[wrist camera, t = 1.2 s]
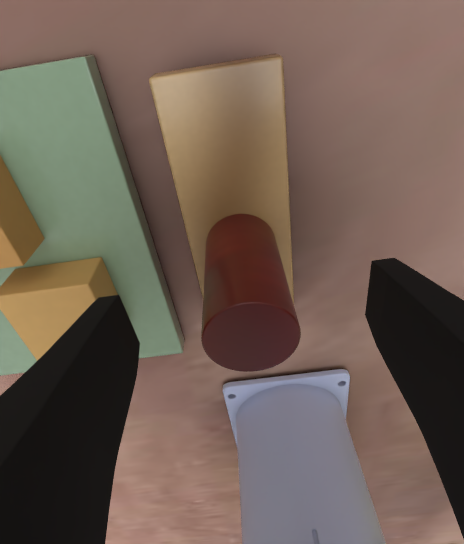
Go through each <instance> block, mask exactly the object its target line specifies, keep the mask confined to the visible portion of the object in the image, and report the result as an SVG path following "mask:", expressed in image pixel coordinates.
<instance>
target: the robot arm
mask: <svg viewBox="0 0 464 544" xmlns="http://www.w3.org/2000/svg"><path fill="white" fill-rule="evenodd" d="M365 315H366V318H367V321H368V324H369V327H370V329H371V332H372V335H373V337H374V340H375V343H376V345H377V347H378V349H379V351H380V353H381V355H382V357H383V359H384V361H385V363H386V365H387V367H388V369H389V370H390V372H391V374H392V376H393V378H394V380H395V382H396V384H397V385H398V387H399V389H400V391H401V393H402V395H403V397H404V399H405V400H406V402H407V404H408V406H409V408H410V410H411V412H412V414H413V415H414V417H415V419H416V421H417V424H418V426H419V428H420V430H421V432H422V434H423V436H424V439H425V441H426V443H427V446H428V448H429V451H430V453H431V456H432V458H433V460H434V463H435V465H436V468H437V470H438V472H439V475H440V478H441V480H442V483H443V485H444V488H445V490H446V493H447V496H448V498H449V501H450V503H451V506H452V508H453V511H454V514H455V516H456V519H457V522H458V525H459V527H460V530H461V533H462V536H463V538H464V300H462V299H460V298H459V297H457V296H455V295H454V294H452V293H450V292H449V291H447V290H445V289H444V288H442V287H441V286H439V285H437V284H436V283H434V282H433V281H431V280H429V279H428V278H426V277H425V276H423V275H422V274H420V273H418V272H417V271H415V270H414V269H412V268H410V267H409V266H407V265H406V264H404V263H402V262H401V261H399V260H397V259H395V258H389V259H382V260H374V261H372V264H371V272H370V280H369V288H368V296H367V304H366V313H365ZM139 349H140V342H139V340H138V337H137V335H136V333H135V330H134V328H133V326H132V323H131V321H130V319H129V316H128V314H127V312H126V310H125V307H124V305H123V303H122V300H121V298H120V296H119V295H113V296H106V297H99V298H98V299H96V300H95V301H94V302H93V303H92V304H91V305H90V306H89V307H88V308H87V309H86V311H85V312H84V313H83V314H82V315H81V316H80V317H79V318H78V319H77V320H76V321H75V322H74V323H73V324H72V325H71V327H70V328H69V329H68V330H67V331H66V332H65V333H64V334H63V335H62V336H61V337H60V338H59V339H58V340H57V341H56V342H55V343H54V344H53V345H52V346H51V348H50V349H49V350H48V351H47V352H46V353H45V354H44V355H43V356H42V357H41V358H40V359H39V360H38V361H37V362H35V363H34V364H33V365H32V366H31V367H30V368H29V369H28V370H27V371H26V372H25V373H24V374H23V375H22V376H21V377H20V378H19V379H18V380H17V381H16V382H15V383H14V384H13V385H12V386H11V387H10V388H8V389H7V390H6V391H5V392H4V393H3V394H2V395H1V396H0V544H105V539H106V530H107V522H108V514H109V506H110V499H111V492H112V485H113V478H114V471H115V465H116V460H117V455H118V450H119V446H120V442H121V438H122V434H123V430H124V426H125V422H126V418H127V414H128V410H129V406H130V402H131V397H132V393H133V389H134V385H135V380H136V376H137V369H138V360H139ZM349 383H350V375H349V372H348V371H347V370H345V369H336V370H328V371H320V372H311V373H303V374H294V375H286V376H277V377H269V378H261V379H252V380H244V381H235V382H228V383H226V384H224V385H223V395H224V398H225V402H226V406H227V410H228V414H229V418H230V422H231V426H232V430H233V433H234V437H235V441H236V445H237V449H238V467H239V487H240V506H241V526H242V544H386V542H385V539H384V536H383V533H382V530H381V527H380V524H379V521H378V517H377V514H376V511H375V508H374V505H373V502H372V499H371V496H370V493H369V490H368V487H367V484H366V481H365V478H364V475H363V472H362V468H361V465H360V462H359V459H358V456H357V453H356V450H355V447H354V444H353V441H352V438H351V435H350V432H349V429H348V426H347V423H346V413H347V403H348V393H349Z"/></svg>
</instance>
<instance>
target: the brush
mask: <svg viewBox="0 0 464 544" xmlns="http://www.w3.org/2000/svg"><path fill="white" fill-rule="evenodd" d="M149 83H150V87H151V91H152V95H153V99H154V104H155V108H156V112H157V116H158V120H159V124H160V128H161V132H162V136H163V140H164V144H165V148H166V152H167V156H168V160H169V164H170V168H171V172H172V176H173V180H174V184H175V188H176V192H177V196H178V200H179V204H180V208H181V212H182V217H183V221H184V225H185V229H186V233H187V237H188V241H189V245H190V249H191V253H192V257H193V261H194V265H195V269H196V273H197V277H198V281H199V285H200V289H201V293H202V297H203V316H202V345H203V348H204V350H205V352H206V354H207V355H208V356H209V357H210V358H211V359H212V360H213V361H214V362H216V363H217V364H219V365H221V366H223V367H225V368H228V369H231V370H236V371H259V370H264V369H268V368H271V367H274V366H276V365H278V364H280V363H282V362H283V361H285V360H286V359H287V358H288V357H290V356H291V355H292V353H293V352H294V351H295V350H296V348H297V346H298V344H299V341H300V335H301V332H300V326H299V322H298V319H297V315H296V312H295V308H294V293H293V271H292V248H291V226H290V203H289V181H288V158H287V136H286V113H285V91H284V68H283V58H282V56H280V55H278V54H271V55H265V56H259V57H253V58H247V59H240V60H234V61H228V62H222V63H216V64H210V65H204V66H198V67H192V68H186V69H180V70H174V71H168V72H162V73H156V74H154V75H153V76H152V77H151V78H149Z"/></svg>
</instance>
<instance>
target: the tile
mask: <svg viewBox="0 0 464 544" xmlns="http://www.w3.org/2000/svg"><path fill="white" fill-rule="evenodd" d="M0 155H1V157H2V159H3V161H4V163H5V165H6V167H7V169H8V170H9V172H10V174H11V176H12V178H13V180H14V182H15V184H16V186H17V187H18V189H19V191H20V193H21V195H22V197H23V199H24V201H25V202H26V204H27V206H28V208H29V210H30V212H31V214H32V216H33V218H34V219H35V221H36V223H37V225H38V227H39V229H40V231H41V233H42V235H43V236H44V240H43V242H42V243H41V244H40V246H39V247H38V248H37V249H36V251H35V252H34V253H33V254H32V256H31V257H30V258H29V259H28V261H27V262H26V263H25V264H24V265H23V266H17V267H10V268H3V269H0V287H1V285H2V284H3V283H4V282H5V280H6V279H7V278H8V277H9V276H10V274H11V273H12V272H13V271H14V270H15V269H19V268H26V267H33V266H40V265H47V264H55V263H62V262H69V261H76V260H83V259H90V258H97V257H102V259H103V261H104V264H105V266H106V268H107V271H108V273H109V275H110V278H111V280H112V282H113V285H114V287H115V289H116V291H117V294H118V295H119V296H120V298H121V300H122V303H123V305H124V307H125V310H126V312H127V314H128V316H129V319H130V321H131V323H132V326H133V328H134V330H135V333H136V335H137V337H138V340H139V342H140V349H139V358H146V357H154V356H163V355H171V354H179V353H183V349H184V337H183V334H182V331H181V328H180V324H179V321H178V318H177V315H176V312H175V309H174V306H173V302H172V299H171V296H170V293H169V290H168V287H167V284H166V280H165V277H164V274H163V271H162V268H161V265H160V262H159V258H158V255H157V252H156V249H155V246H154V243H153V240H152V236H151V233H150V230H149V227H148V224H147V221H146V218H145V214H144V211H143V208H142V205H141V202H140V199H139V196H138V193H137V189H136V186H135V183H134V180H133V177H132V174H131V171H130V167H129V164H128V161H127V158H126V155H125V152H124V149H123V145H122V142H121V139H120V136H119V133H118V130H117V127H116V123H115V120H114V117H113V114H112V111H111V108H110V105H109V101H108V98H107V95H106V92H105V89H104V86H103V83H102V79H101V76H100V73H99V70H98V67H97V64H96V61H95V57H94V55H92V54H91V55H85V56H79V57H73V58H67V59H62V60H56V61H50V62H44V63H38V64H32V65H26V66H21V67H15V68H9V69H3V70H0ZM35 362H37V360H36V359H35V357H34V356H33V354H32V353H31V352H30V350H29V349H28V347H27V346H26V345H25V343H24V342H23V340H22V339H21V338H20V336H19V335H18V334H17V332H16V331H15V329H14V328H13V327H12V325H11V324H10V322H9V321H8V320H7V318H6V317H5V315H4V314H3V313H2V311H1V310H0V376H1V375H9V374H17V373H25V372H26V371H27V370H28V369H29V368H30V367H31V366H32V365H33V364H34V363H35Z"/></svg>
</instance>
